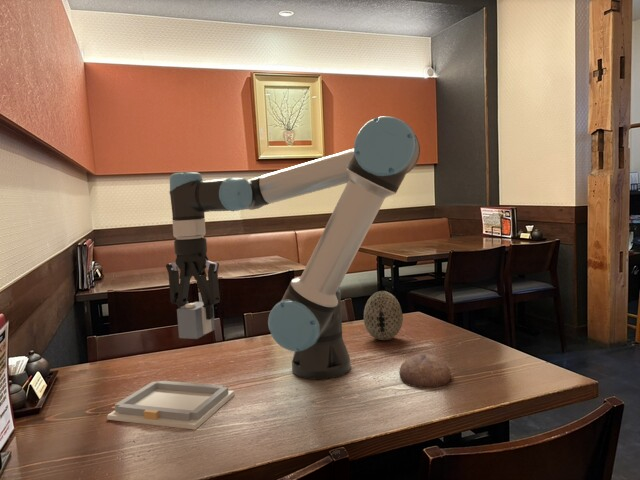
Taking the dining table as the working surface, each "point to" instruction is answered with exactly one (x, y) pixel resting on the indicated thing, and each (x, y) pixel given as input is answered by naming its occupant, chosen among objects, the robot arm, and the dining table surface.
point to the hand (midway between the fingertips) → (197, 331)
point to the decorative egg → (383, 316)
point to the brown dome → (424, 371)
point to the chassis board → (172, 404)
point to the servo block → (191, 321)
